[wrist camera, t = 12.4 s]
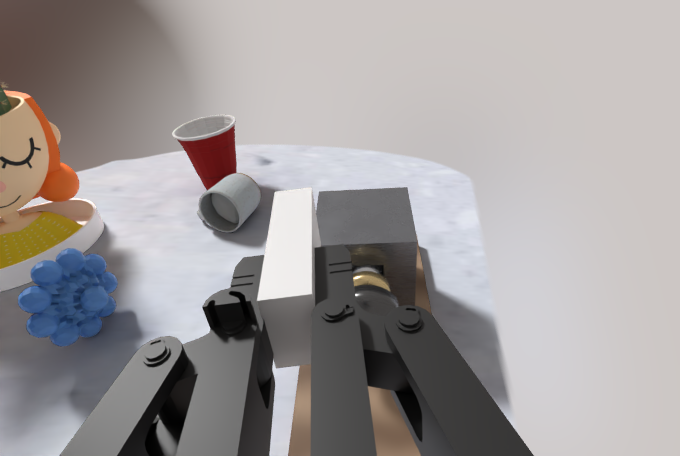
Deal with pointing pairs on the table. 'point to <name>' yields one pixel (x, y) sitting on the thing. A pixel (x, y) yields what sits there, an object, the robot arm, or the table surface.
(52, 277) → the grapes
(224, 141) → the plastic cup
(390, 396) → the base plate
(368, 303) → the shaft
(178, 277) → the table surface
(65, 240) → the potted cactus
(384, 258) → the bearing block
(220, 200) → the ceramic mug
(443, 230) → the table surface
